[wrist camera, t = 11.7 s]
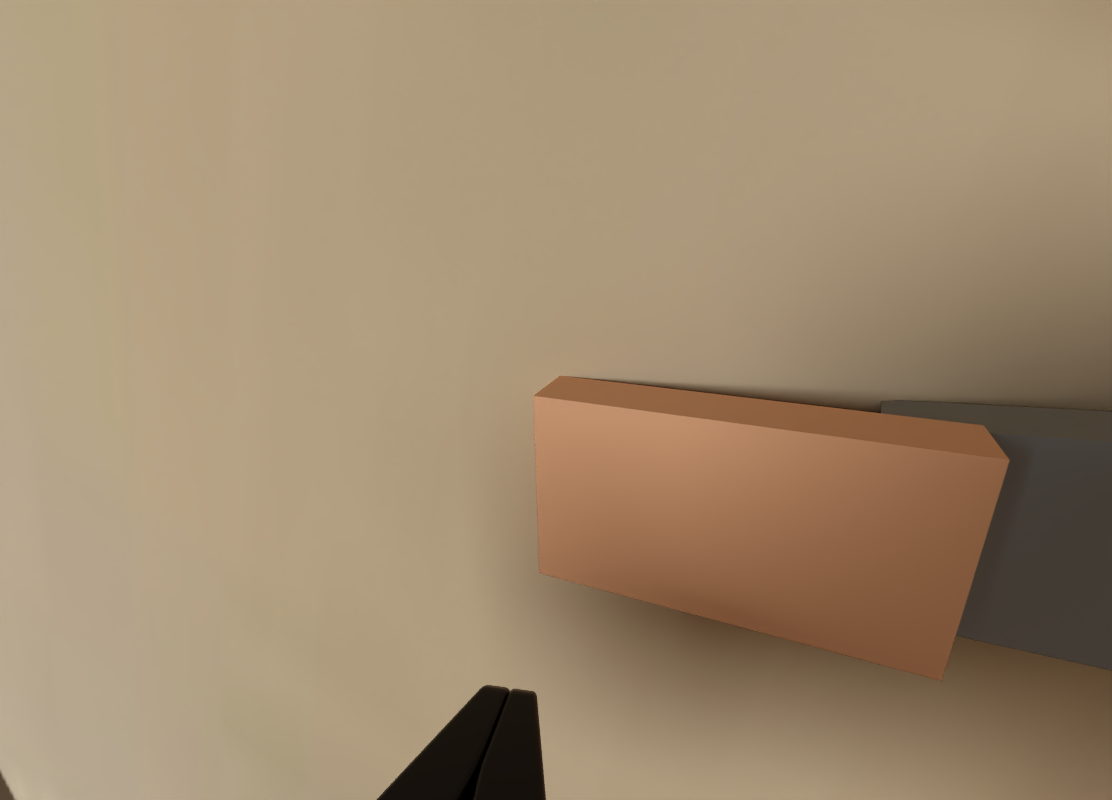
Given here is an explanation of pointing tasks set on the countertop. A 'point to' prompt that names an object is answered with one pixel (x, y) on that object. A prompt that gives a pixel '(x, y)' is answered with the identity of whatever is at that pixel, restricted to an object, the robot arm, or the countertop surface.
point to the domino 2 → (1042, 531)
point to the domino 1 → (768, 513)
